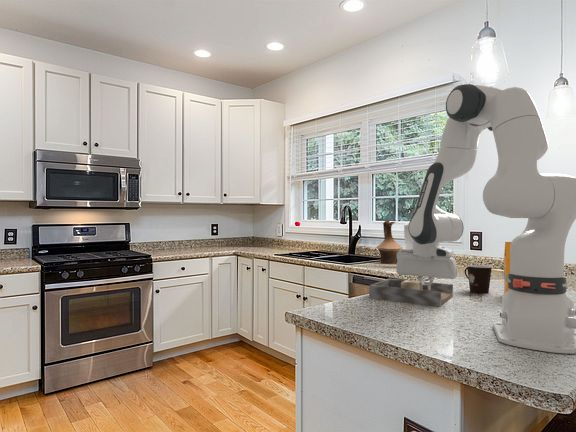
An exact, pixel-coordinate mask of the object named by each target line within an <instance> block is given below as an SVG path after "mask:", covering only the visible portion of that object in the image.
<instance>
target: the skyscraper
mask: <svg viewBox="0 0 576 432" xmlns="http://www.w3.org/2000/svg"><path fill="white" fill-rule="evenodd" d="M409 222H410V220H408V221H407V223H403V227H404V228H403V235H404V236H403V237H404V243H405V248H404V249H405V250H413V238H412V237H411V235H410V233H409V229H408V227H409ZM407 253H408V252H407Z"/></svg>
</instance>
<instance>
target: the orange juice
mask: <svg viewBox="0 0 576 432" xmlns="http://www.w3.org/2000/svg"><path fill="white" fill-rule="evenodd" d="M511 242H512V241H505V242H504V254H503V269H504V270H503V279H504V280H503V282H504V283H503V285H504V286H503V287H504V288H503V291H504V293H506V292H507V291H508V290H509V288H508V274H509V273H510V245H511ZM504 293H503V294H504Z"/></svg>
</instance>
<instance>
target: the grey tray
mask: <svg viewBox="0 0 576 432" xmlns="http://www.w3.org/2000/svg"><path fill="white" fill-rule="evenodd" d="M406 280H407V279H398V278H386V279H384V280H381V281H377V282H376V283H372V284H368V289H369V290H368V294H369V295H368V297H369V299H373V300H374V299H375V300H382V301H389V302H390V301H391V302H397V303H398V302H399V303H405V304H414V305H415V304H416V305H424V306H431V307H438V308H440V307H443V305H445V304H446V303H448V302H449V300H451V299H452V298H454V284H453V283H442V282H434V281H433V282H432V284H431V289H430V290H416V289H406V288H401V282H403V281H406ZM409 281H412V280H409ZM423 282H424V284H428V283H429V281H423Z"/></svg>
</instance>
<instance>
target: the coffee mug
mask: <svg viewBox="0 0 576 432" xmlns="http://www.w3.org/2000/svg"><path fill="white" fill-rule="evenodd" d="M492 269H493V268H492V266H491V265H490V266H489V265H482V264H481V265H479V264H469V265H466V268H464V275H465V277H466V278H467V280H468V284H469V291H470V293H473V294H480V295H484V294H485V295H486V294H487V295H488V294H489V293H490V285H491V284H490V283H491V277H492Z"/></svg>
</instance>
